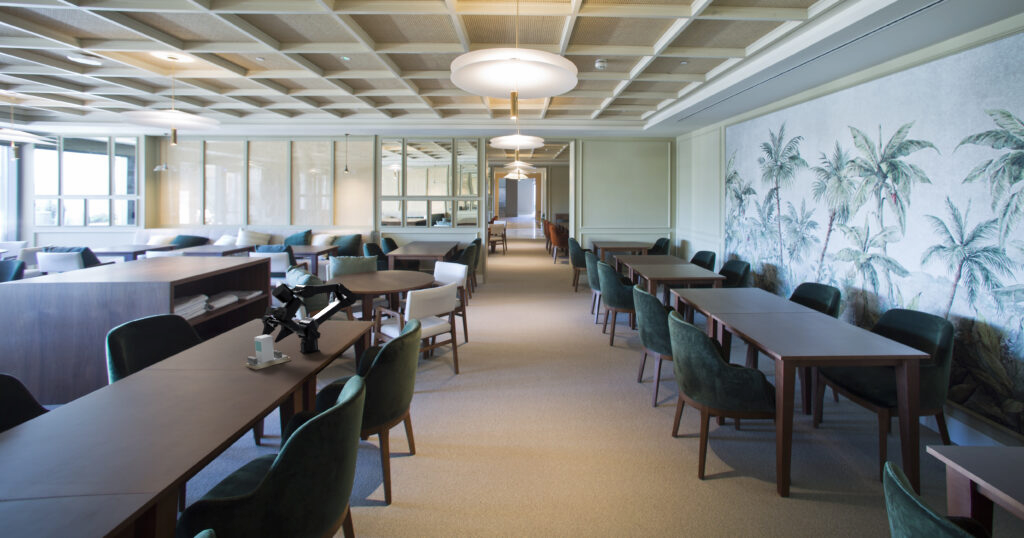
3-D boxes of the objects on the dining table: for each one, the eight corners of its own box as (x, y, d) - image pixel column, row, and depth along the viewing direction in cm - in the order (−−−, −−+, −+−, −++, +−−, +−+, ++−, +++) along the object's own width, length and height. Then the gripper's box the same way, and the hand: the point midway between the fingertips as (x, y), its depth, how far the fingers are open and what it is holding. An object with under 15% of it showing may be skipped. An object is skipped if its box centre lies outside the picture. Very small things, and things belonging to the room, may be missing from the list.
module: (267, 357, 215) (265, 334, 214) (274, 359, 213) (272, 335, 211) (255, 361, 210) (254, 337, 209) (262, 362, 208) (260, 338, 207)
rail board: (280, 357, 221) (280, 347, 221) (290, 360, 217) (289, 350, 217) (245, 366, 209) (245, 356, 209) (255, 369, 205) (254, 359, 204)
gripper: (263, 296, 219) (240, 327, 212) (291, 300, 210) (268, 333, 202) (281, 311, 227) (260, 341, 219) (309, 315, 217) (287, 347, 210)
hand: (268, 340), depth 212 cm, fingers open, 9 cm apart
